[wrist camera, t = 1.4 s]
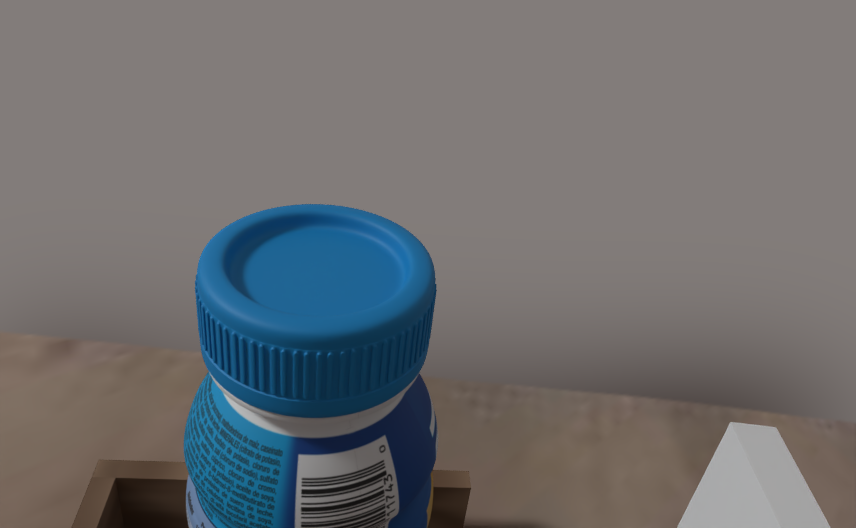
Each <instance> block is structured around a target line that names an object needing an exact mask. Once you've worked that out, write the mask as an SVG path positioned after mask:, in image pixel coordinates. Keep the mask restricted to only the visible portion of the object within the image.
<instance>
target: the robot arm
mask: <svg viewBox="0 0 856 528" xmlns="http://www.w3.org/2000/svg"><path fill="white" fill-rule="evenodd" d="M677 528H830V526H829V524H828V522H827V520H826V518H825V517H824V515H823V513H822V511H821V509H820V507H819V506H818V504H817V502H816V500H815V498H814V496H813V495H812V493H811V491H810V489H809V487H808V485H807V483H806V482H805V480H804V478H803V476H802V474H801V472H800V471H799V469H798V467H797V465H796V463H795V461H794V460H793V458H792V456H791V454H790V452H789V450H788V449H787V447H786V445H785V443H784V441H783V439H782V438H781V436H780V434H779V432H778V430H777V428H776V427H769V426H760V425H752V424H743V423H735V422H730V424H729V426H728V428H727V430H726V432H725V434H724V436H723V438H722V440H721V442H720V444H719V446H718V448H717V450H716V452H715V454H714V456H713V458H712V460H711V462H710V464H709V466H708V468H707V470H706V472H705V474H704V476H703V478H702V480H701V482H700V484H699V485H698V487H697V489H696V491H695V493H694V495H693V497H692V499H691V501H690V503H689V505H688V507H687V509H686V511H685V513H684V515H683V517H682V519H681V521H680V523H679V525H678V527H677Z"/></svg>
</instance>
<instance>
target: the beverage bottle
mask: <svg viewBox="0 0 856 528" xmlns="http://www.w3.org/2000/svg"><path fill="white" fill-rule="evenodd" d="M195 293H196V305H197V317H198V330H199V336H200V344H201V351H202V356H203V359H204V362H205V364H206V366H207V368H208V370H209V372H208V373H207V375H206V377H205V378H204V380H203V382H202V383H201V385H200V387H199V389H198V391H197V393H196V396H195V398H194V400H193V403H192V406H191V409H190V412H189V416H188V419H187V423H186V428H185V435H184V456H185V462H186V466H187V470H188V473H189V475H188V480H187V488H186V512H187V520H188V526H189V528H427V527H428V524H429V521H430V516H431V511H432V504H433V474H432V470H433V467H434V464H435V460H436V455H437V449H438V428H437V421H436V416H435V412H434V408H433V404H432V401H431V398H430V395H429V392H428V390H427V387H426V385H425V383H424V381H423V379H422V377H421V375H420V374H419V372H420V370H421V368H422V366H423V364H424V361H425V359H426V355H427V351H428V346H429V339H430V333H431V327H432V319H433V312H434V305H435V297H436V284H435V271H434V266H433V262H432V259H431V257H430V255H429V253H428V252H427V250H426V248H425V247H424V246H423V244H422V243H421V242H420V241H419V240H418V239H417V238H416V237H415V236H414V235H413V234H411V233H410V232H409V231H407V230H406V229H405V228H403V227H401V226H400V225H398V224H396V223H394V222H392V221H390V220H388V219H386V218H384V217H381V216H378V215H376V214H373V213H369V212H366V211H363V210H358V209H354V208H349V207H343V206H335V205H323V204H302V205H291V206H283V207H277V208H272V209H267V210H263V211H260V212H257V213H254V214H251V215H248V216H246V217H243V218H241V219H239V220H237V221H235V222H233V223H231V224H230V225H228V226H226V227H225V228H223V229H222V230H221V231H220V232H219V233H217V234H216V235H215V236H214V237H213V238H212V239H211V240H210V241H209V243H208V244H207V245H206V247H205V248H204V250H203V252H202V254H201V257H200V260H199V263H198V269H197V275H196V281H195Z"/></svg>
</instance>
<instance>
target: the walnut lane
mask: <svg viewBox="0 0 856 528" xmlns="http://www.w3.org/2000/svg"><path fill="white" fill-rule="evenodd" d="M432 474H433V504H432V511H431V516H430V521H429V524H428V527H427V528H463V524H464V520H465V515H466V510H467V505H468V500H469V495H470V490H471V485H470V477H469V471H448V470H432ZM188 475H189V473H188V470H187V466H186V462H159V461H127V460H99V461H98V463H97V466H96V468H95V471H94V473H93V476H92V478H91V481H90V483H89V485H88V488H87V490H86V493H85V495H84V498H83V500H82V503H81V505H80V508H79V510H78V513H77V515H76V518H75V520H74V523H73V525H72V528H189V526H188V520H187V512H186V488H187V480H188Z"/></svg>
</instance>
